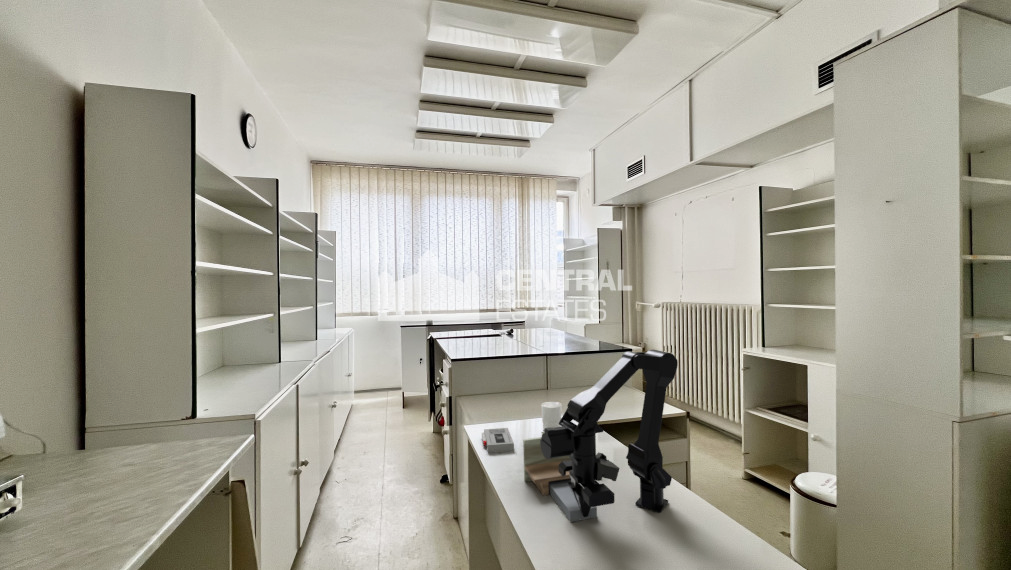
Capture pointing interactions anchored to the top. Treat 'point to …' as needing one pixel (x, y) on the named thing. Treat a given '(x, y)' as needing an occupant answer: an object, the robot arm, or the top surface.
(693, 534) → the top surface
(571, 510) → the grey chamfered block
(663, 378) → the robot arm
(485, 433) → the cassette player
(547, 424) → the white cup
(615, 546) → the top surface
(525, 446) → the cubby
